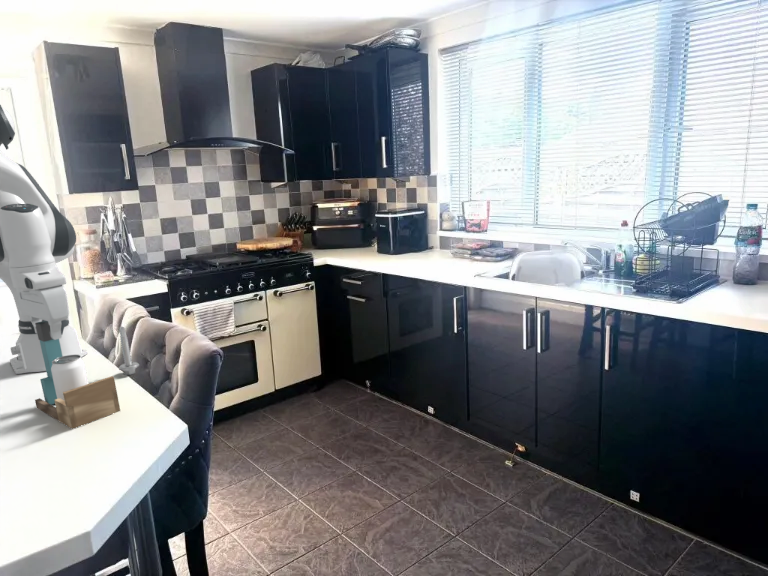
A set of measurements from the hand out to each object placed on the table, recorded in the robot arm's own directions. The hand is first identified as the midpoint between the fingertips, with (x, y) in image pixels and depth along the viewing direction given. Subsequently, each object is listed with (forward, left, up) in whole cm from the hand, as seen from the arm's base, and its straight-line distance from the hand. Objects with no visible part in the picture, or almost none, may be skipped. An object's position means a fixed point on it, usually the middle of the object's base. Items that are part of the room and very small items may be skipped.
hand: (48, 335), depth 123 cm
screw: (-4, +18, -16) cm, 25 cm away
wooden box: (+8, 0, -16) cm, 18 cm away
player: (0, 0, -16) cm, 16 cm away
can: (+8, 0, -16) cm, 18 cm away
